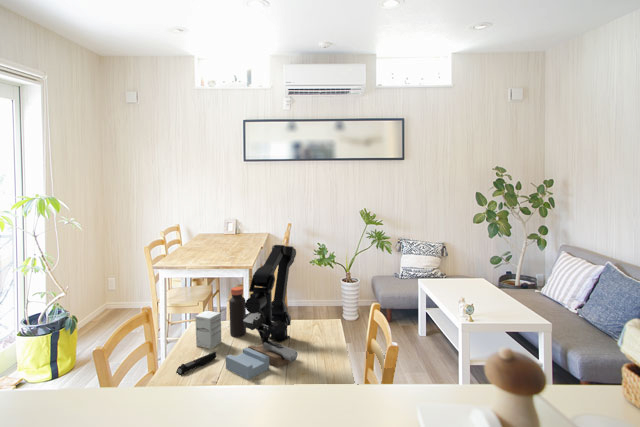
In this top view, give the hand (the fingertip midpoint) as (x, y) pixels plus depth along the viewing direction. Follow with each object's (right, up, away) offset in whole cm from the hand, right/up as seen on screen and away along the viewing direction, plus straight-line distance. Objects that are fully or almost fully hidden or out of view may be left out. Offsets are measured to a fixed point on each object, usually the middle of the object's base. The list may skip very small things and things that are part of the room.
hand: (264, 344), depth 153 cm
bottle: (-14, -2, +20) cm, 25 cm away
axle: (+6, -3, -5) cm, 8 cm away
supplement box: (-24, -3, +10) cm, 26 cm away
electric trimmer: (-23, -6, -8) cm, 25 cm away
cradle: (-5, -5, -11) cm, 13 cm away
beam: (+3, -4, -2) cm, 5 cm away
